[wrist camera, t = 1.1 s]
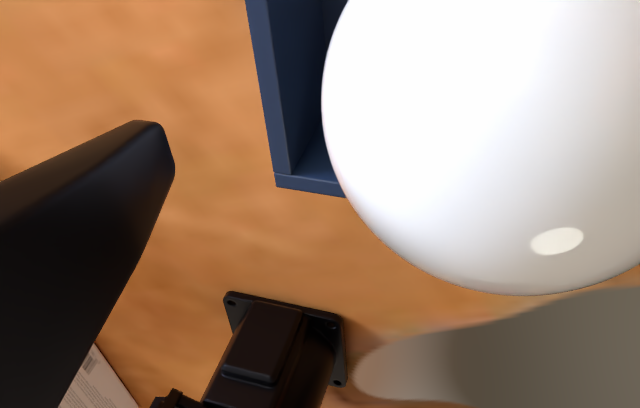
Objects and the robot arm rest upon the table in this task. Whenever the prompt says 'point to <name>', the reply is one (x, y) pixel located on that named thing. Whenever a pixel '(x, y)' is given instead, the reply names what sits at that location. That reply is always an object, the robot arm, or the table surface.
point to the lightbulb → (491, 136)
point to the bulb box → (295, 87)
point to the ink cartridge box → (97, 386)
